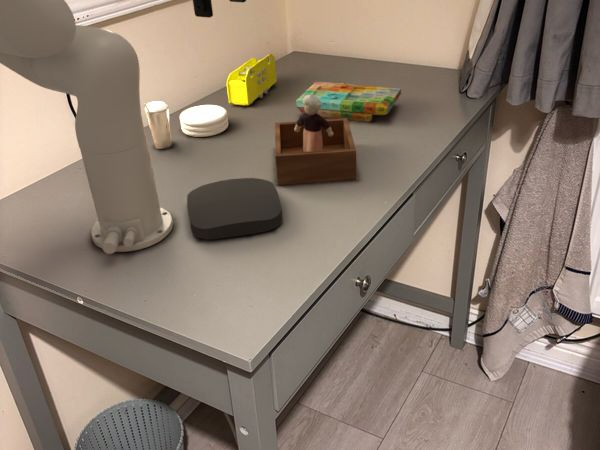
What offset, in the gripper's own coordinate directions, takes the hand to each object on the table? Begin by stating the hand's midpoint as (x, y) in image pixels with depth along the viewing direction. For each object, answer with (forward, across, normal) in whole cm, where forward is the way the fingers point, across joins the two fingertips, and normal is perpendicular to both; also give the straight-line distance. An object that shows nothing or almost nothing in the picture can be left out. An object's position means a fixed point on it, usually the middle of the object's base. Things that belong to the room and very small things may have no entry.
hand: (221, 8), depth 105 cm
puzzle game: (+29, +30, -8) cm, 43 cm away
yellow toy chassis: (+29, +32, +17) cm, 46 cm away
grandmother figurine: (+28, +5, -13) cm, 31 cm away
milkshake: (+28, 0, +19) cm, 34 cm away
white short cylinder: (+29, +11, +16) cm, 35 cm away
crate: (+28, +5, -13) cm, 32 cm away
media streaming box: (+28, -17, -10) cm, 34 cm away
